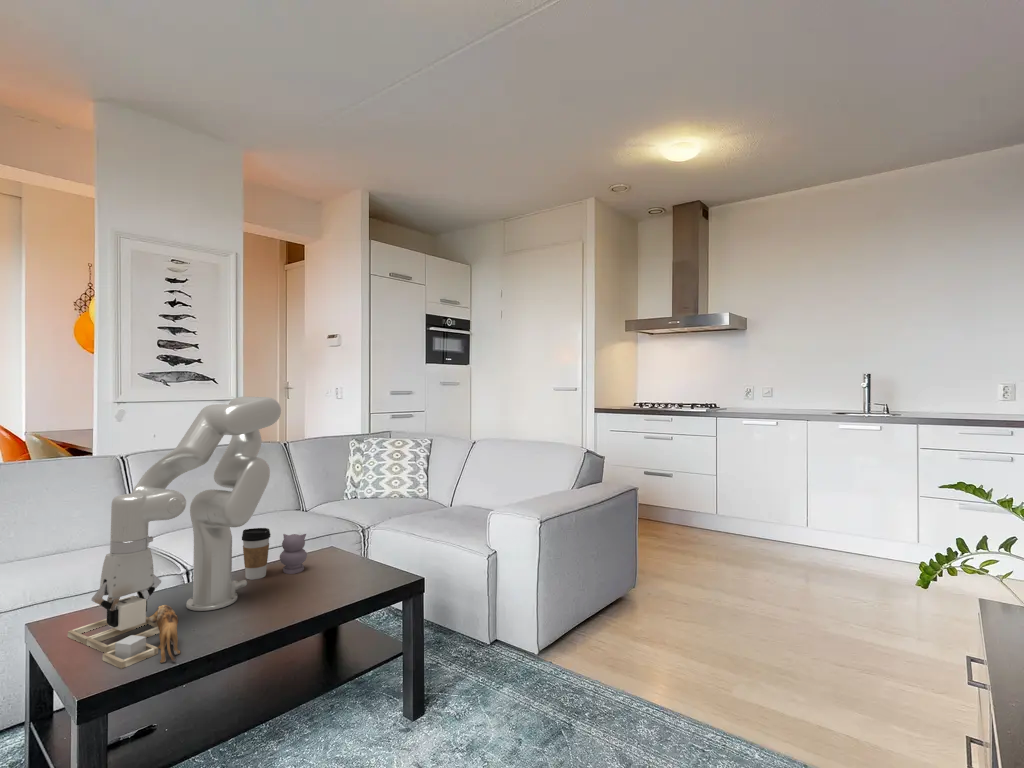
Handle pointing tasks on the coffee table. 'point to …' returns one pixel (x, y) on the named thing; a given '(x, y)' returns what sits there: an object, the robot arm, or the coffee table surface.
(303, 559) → the cat figurine
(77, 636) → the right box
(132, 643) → the grey block
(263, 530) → the coffee cup
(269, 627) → the coffee table surface
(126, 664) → the small box
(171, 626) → the lion figurine
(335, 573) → the coffee table surface
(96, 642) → the middle box
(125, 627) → the letter cube
